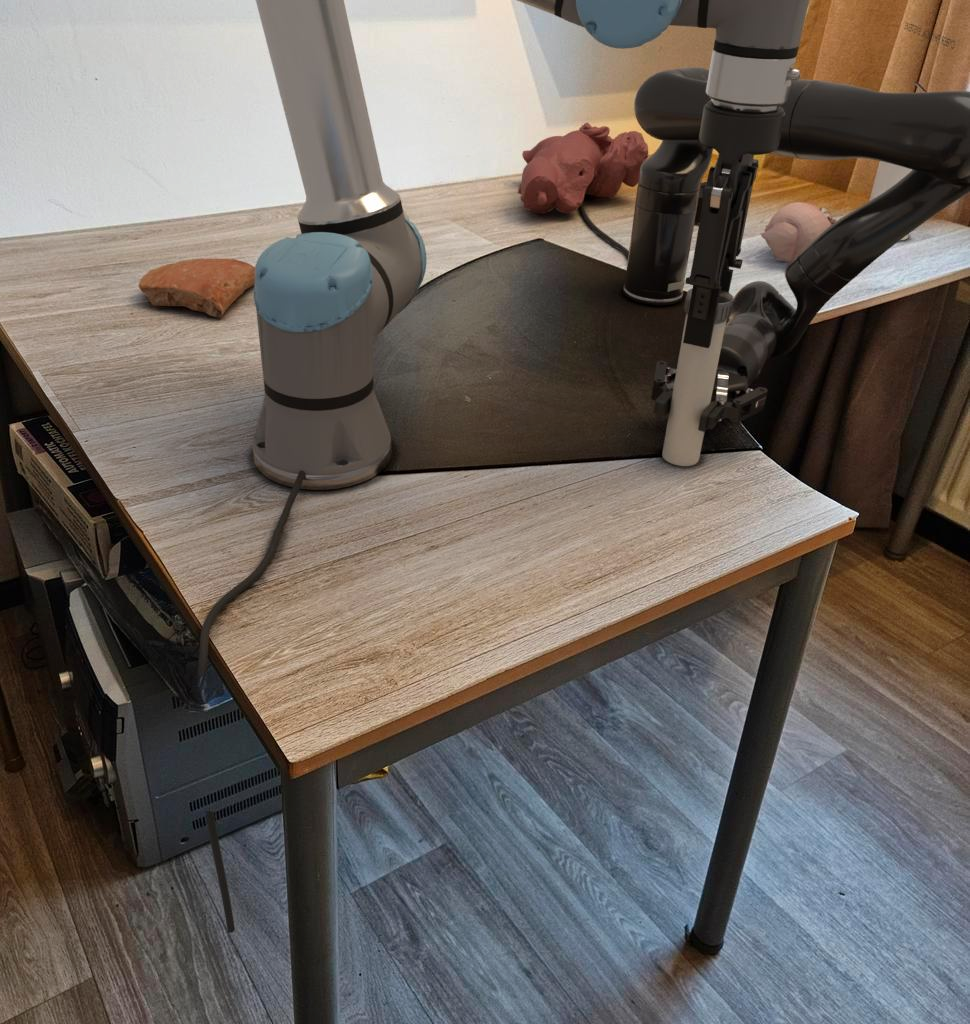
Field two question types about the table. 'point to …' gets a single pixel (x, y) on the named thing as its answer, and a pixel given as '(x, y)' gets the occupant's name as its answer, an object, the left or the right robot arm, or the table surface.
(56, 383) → the table surface
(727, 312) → the lid
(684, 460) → the beige cylindrical rod
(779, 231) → the toy
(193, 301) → the ceramic shard
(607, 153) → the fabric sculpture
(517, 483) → the table surface
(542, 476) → the table surface
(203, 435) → the table surface
